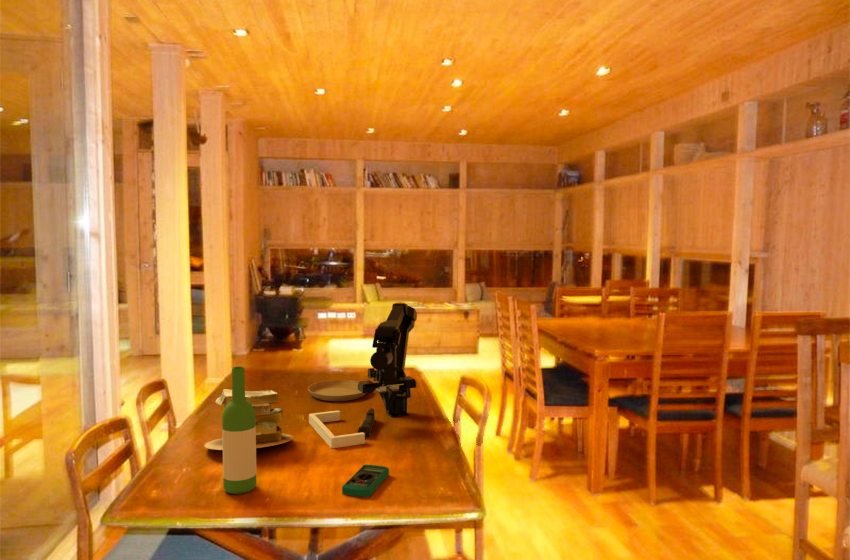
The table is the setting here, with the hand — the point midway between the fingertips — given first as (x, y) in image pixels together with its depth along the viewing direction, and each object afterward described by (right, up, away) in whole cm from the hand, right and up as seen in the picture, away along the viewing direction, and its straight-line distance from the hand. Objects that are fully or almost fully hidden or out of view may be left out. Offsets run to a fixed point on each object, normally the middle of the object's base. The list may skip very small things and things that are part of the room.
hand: (387, 410), depth 196 cm
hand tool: (-6, -6, -3) cm, 9 cm away
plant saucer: (-22, -3, +40) cm, 45 cm away
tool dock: (-15, -6, -7) cm, 18 cm away
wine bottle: (-33, -8, -50) cm, 61 cm away
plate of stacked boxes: (-39, -7, -21) cm, 45 cm away
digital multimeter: (-2, -9, -47) cm, 48 cm away
